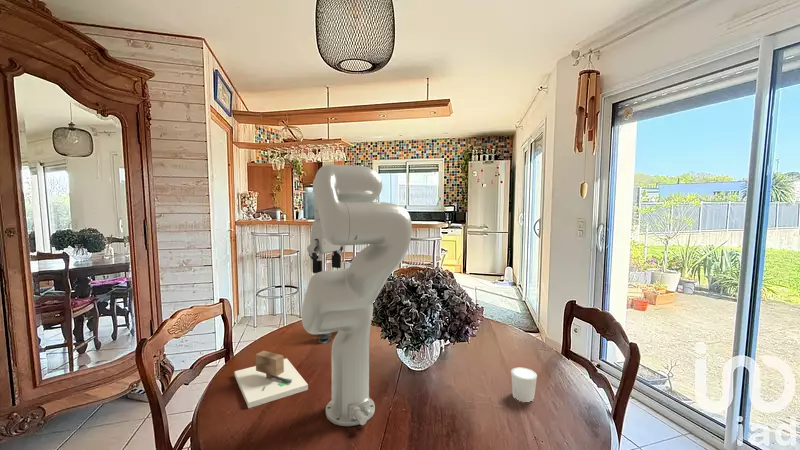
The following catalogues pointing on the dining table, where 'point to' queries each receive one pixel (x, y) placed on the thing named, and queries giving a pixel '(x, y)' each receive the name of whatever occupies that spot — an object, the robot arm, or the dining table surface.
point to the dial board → (268, 385)
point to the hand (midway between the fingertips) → (327, 270)
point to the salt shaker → (324, 338)
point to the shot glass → (523, 384)
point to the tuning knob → (270, 365)
